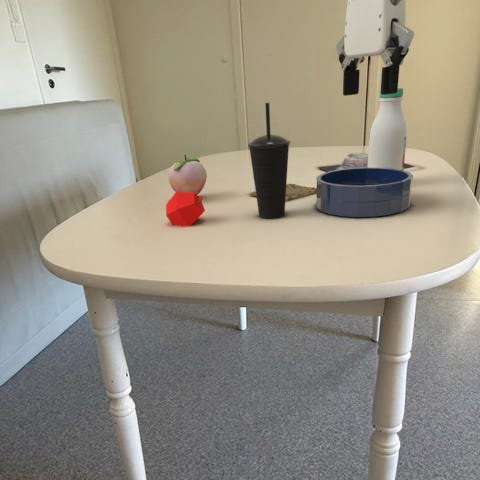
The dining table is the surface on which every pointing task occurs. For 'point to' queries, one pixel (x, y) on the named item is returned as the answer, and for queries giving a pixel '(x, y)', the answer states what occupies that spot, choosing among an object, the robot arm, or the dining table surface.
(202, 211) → the red faceted polyhedron
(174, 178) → the decorative fruit
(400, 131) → the milk bottle
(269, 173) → the drinking cup
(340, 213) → the bowl
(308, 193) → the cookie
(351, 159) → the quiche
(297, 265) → the dining table surface
